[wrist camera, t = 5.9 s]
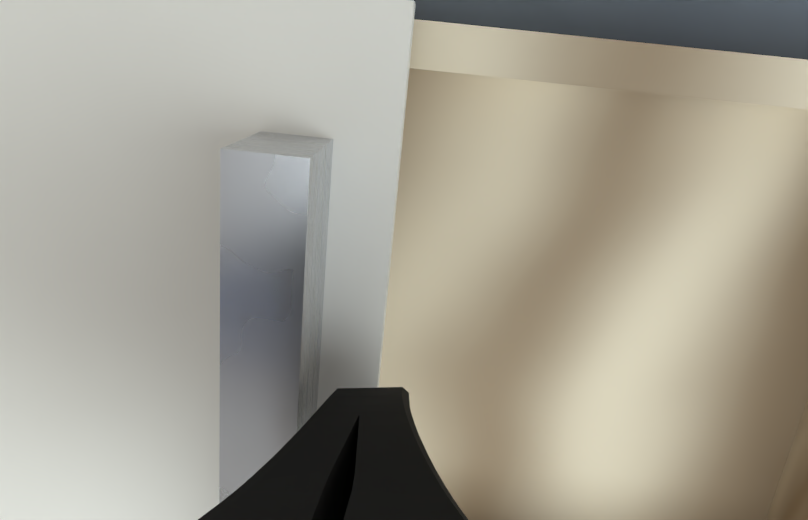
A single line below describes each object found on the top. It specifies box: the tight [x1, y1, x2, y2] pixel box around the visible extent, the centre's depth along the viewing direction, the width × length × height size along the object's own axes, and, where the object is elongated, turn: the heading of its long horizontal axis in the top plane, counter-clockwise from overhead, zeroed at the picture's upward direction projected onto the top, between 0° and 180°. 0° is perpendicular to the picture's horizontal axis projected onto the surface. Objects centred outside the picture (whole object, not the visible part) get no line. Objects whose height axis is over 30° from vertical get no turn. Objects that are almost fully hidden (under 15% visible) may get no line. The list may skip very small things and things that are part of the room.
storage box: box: [379, 19, 808, 520], centre depth 15 cm, size 16×14×4 cm
